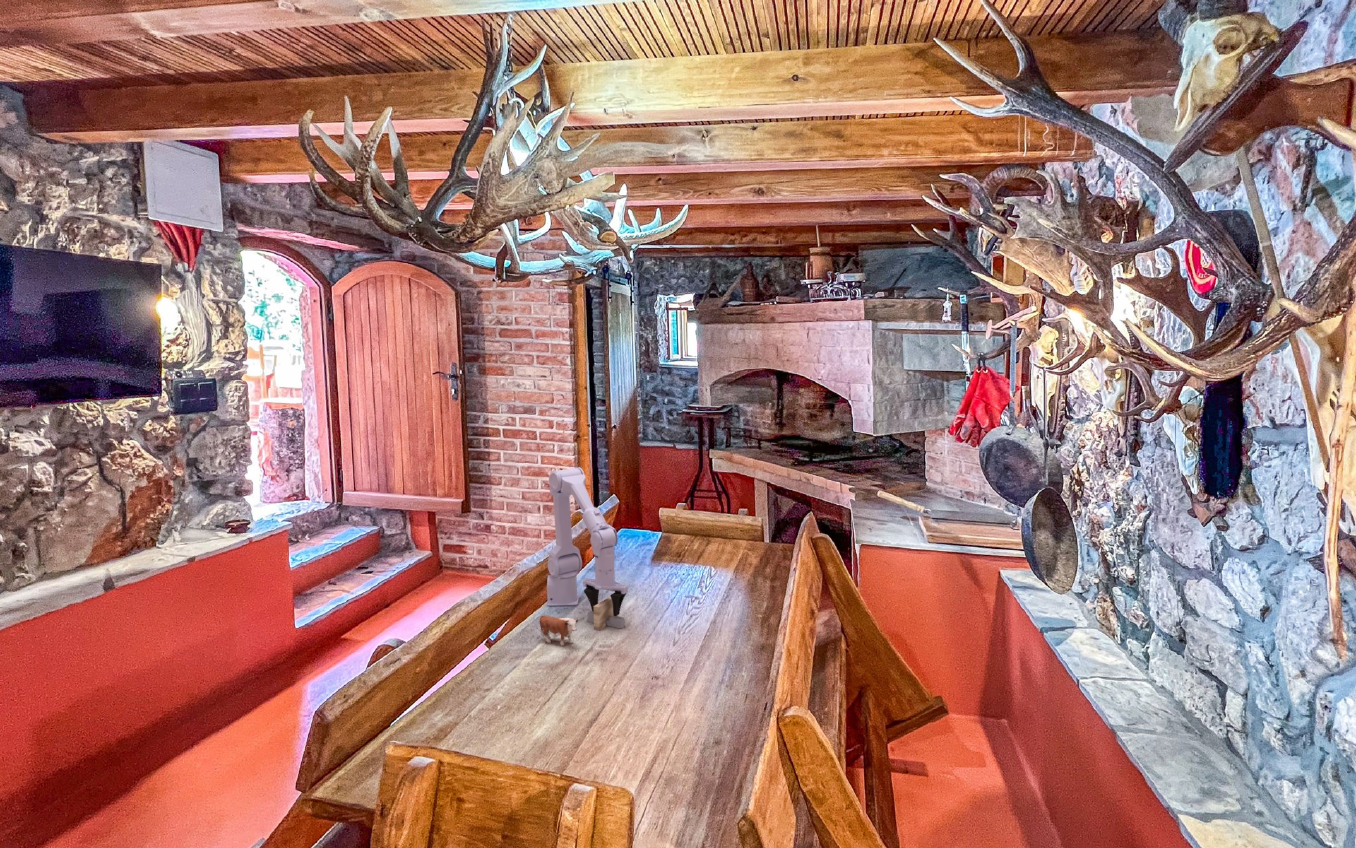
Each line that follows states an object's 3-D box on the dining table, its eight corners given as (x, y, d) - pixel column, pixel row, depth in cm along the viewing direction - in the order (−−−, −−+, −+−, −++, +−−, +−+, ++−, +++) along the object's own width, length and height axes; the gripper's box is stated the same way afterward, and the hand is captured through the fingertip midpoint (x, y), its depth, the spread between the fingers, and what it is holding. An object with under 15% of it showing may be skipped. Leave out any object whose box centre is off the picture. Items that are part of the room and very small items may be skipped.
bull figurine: (573, 651, 206) (573, 622, 205) (536, 640, 213) (535, 613, 212) (583, 645, 210) (583, 617, 208) (547, 635, 217) (546, 608, 216)
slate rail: (587, 621, 226) (587, 612, 226) (590, 619, 228) (590, 610, 228) (621, 628, 221) (621, 619, 221) (624, 626, 222) (624, 617, 222)
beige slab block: (599, 630, 220) (598, 607, 219) (594, 629, 221) (593, 606, 220) (617, 618, 228) (617, 596, 228) (612, 617, 229) (612, 595, 228)
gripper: (576, 569, 222) (577, 613, 224) (618, 576, 215) (619, 621, 217) (590, 562, 228) (591, 605, 230) (631, 569, 222) (631, 613, 223)
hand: (605, 612), depth 224 cm, fingers open, 7 cm apart
